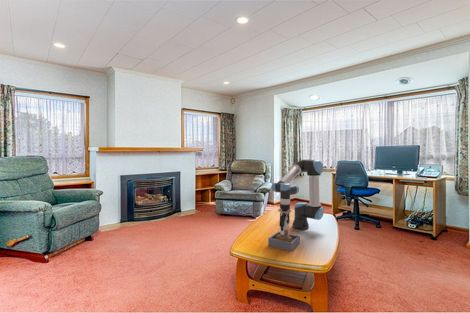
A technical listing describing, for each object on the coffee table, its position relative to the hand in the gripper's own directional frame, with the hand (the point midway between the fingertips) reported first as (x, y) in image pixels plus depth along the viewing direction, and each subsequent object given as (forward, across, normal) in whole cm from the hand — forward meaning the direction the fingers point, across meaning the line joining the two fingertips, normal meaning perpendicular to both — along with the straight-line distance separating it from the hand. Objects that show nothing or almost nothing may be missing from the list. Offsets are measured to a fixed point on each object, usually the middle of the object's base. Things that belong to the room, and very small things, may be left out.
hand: (284, 233), depth 194 cm
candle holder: (+6, 0, 0) cm, 6 cm away
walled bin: (+9, 0, 0) cm, 9 cm away
